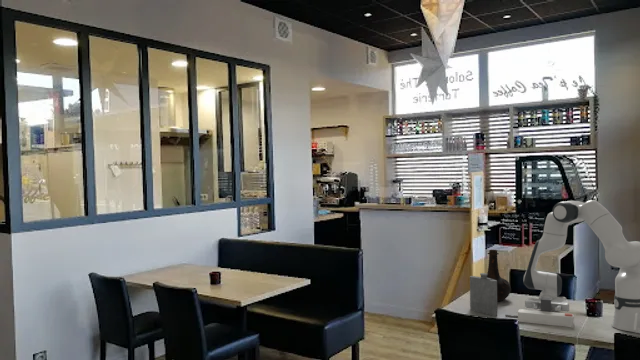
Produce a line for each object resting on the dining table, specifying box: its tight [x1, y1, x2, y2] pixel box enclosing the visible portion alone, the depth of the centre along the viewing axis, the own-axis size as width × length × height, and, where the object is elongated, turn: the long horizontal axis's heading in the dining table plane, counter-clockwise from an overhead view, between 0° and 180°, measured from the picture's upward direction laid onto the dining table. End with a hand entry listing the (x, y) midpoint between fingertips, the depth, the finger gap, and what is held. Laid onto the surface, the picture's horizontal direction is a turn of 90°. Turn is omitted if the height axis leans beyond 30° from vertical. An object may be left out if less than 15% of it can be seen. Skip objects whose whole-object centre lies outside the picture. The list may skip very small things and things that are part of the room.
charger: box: [540, 297, 552, 312], centre depth 253 cm, size 7×4×10 cm, turn 154°
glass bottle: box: [486, 249, 512, 302], centre depth 296 cm, size 18×18×28 cm
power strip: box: [505, 308, 575, 328], centre depth 250 cm, size 6×30×5 cm, turn 64°
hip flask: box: [469, 272, 498, 317], centre depth 269 cm, size 16×4×20 cm, turn 35°
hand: (546, 308), depth 254 cm, fingers open, 8 cm apart
